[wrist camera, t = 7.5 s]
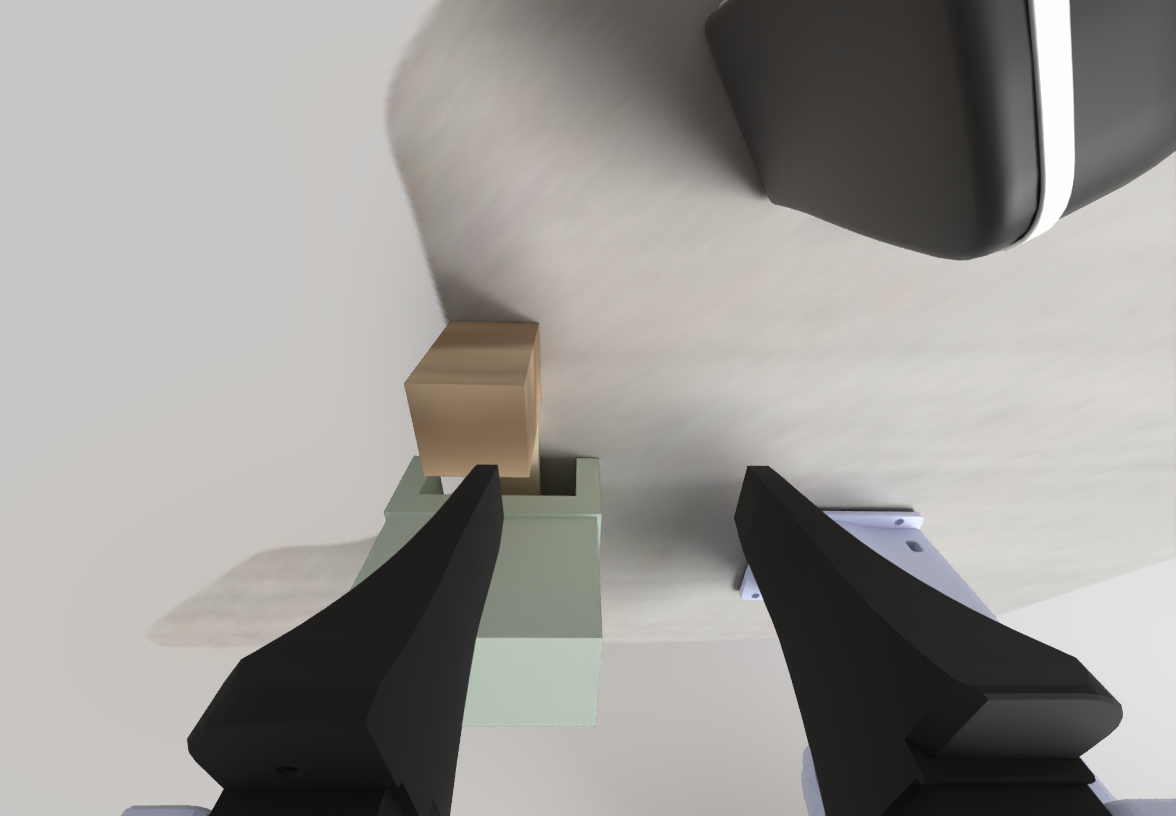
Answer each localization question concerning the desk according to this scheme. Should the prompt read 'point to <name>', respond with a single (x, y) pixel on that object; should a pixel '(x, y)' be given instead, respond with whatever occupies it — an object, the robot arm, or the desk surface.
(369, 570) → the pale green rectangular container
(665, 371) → the desk surface
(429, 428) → the wooden rectangular block
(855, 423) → the desk surface
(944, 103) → the battery charger
